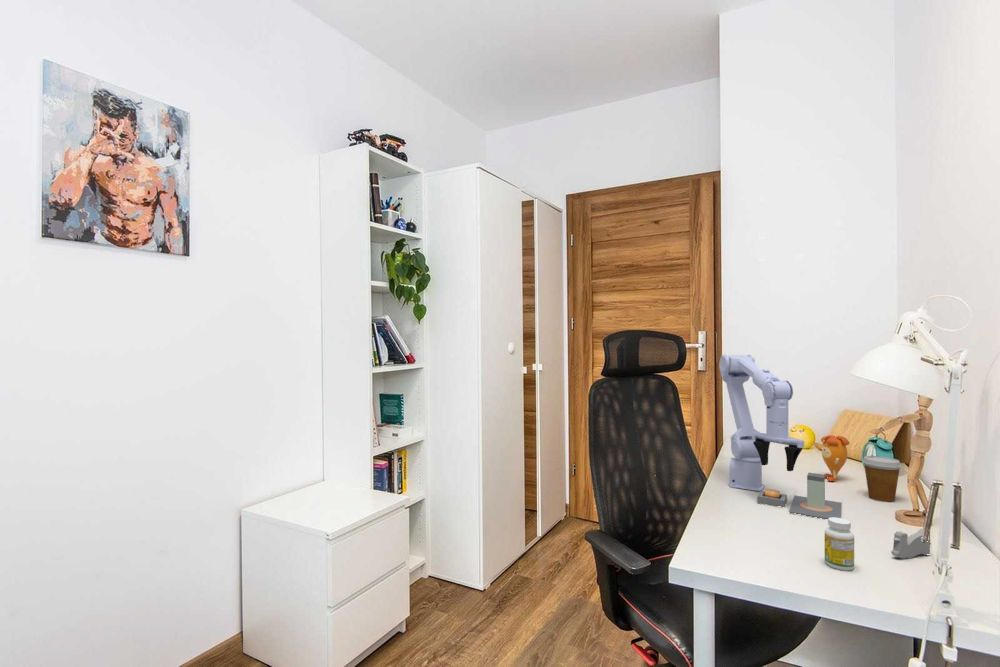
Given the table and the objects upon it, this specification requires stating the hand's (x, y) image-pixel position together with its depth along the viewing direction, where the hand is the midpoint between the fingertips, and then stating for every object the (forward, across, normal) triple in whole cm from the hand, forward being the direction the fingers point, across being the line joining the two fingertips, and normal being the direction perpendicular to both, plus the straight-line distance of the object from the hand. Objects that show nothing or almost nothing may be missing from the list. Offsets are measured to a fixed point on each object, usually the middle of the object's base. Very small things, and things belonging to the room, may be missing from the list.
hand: (777, 467), depth 150 cm
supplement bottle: (+10, -30, +29) cm, 43 cm away
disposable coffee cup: (+11, -14, -31) cm, 36 cm away
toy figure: (+11, +3, -41) cm, 42 cm away
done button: (+9, +1, +1) cm, 9 cm away
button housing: (+10, +1, +1) cm, 10 cm away
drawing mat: (+10, -9, -5) cm, 14 cm away
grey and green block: (+10, -9, -5) cm, 14 cm away
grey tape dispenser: (+10, -36, +11) cm, 39 cm away
